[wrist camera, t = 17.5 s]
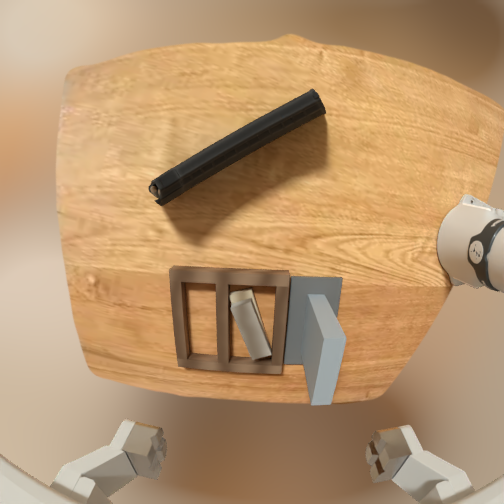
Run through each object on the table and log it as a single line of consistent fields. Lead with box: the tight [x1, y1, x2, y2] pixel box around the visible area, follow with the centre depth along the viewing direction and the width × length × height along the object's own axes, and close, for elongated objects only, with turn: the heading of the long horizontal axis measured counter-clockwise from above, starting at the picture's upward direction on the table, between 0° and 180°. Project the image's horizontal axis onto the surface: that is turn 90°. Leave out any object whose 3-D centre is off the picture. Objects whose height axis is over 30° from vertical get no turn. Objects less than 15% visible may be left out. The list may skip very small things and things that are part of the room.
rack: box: [169, 266, 290, 374], centre depth 49 cm, size 20×20×2 cm
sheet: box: [301, 294, 346, 405], centre depth 42 cm, size 3×12×15 cm, turn 178°
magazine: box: [149, 89, 326, 206], centre depth 38 cm, size 17×3×30 cm
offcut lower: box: [229, 287, 269, 356], centre depth 50 cm, size 4×13×2 cm, turn 16°
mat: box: [284, 276, 342, 364], centre depth 49 cm, size 9×18×1 cm, turn 178°
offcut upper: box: [230, 298, 272, 360], centre depth 48 cm, size 4×11×2 cm, turn 20°
